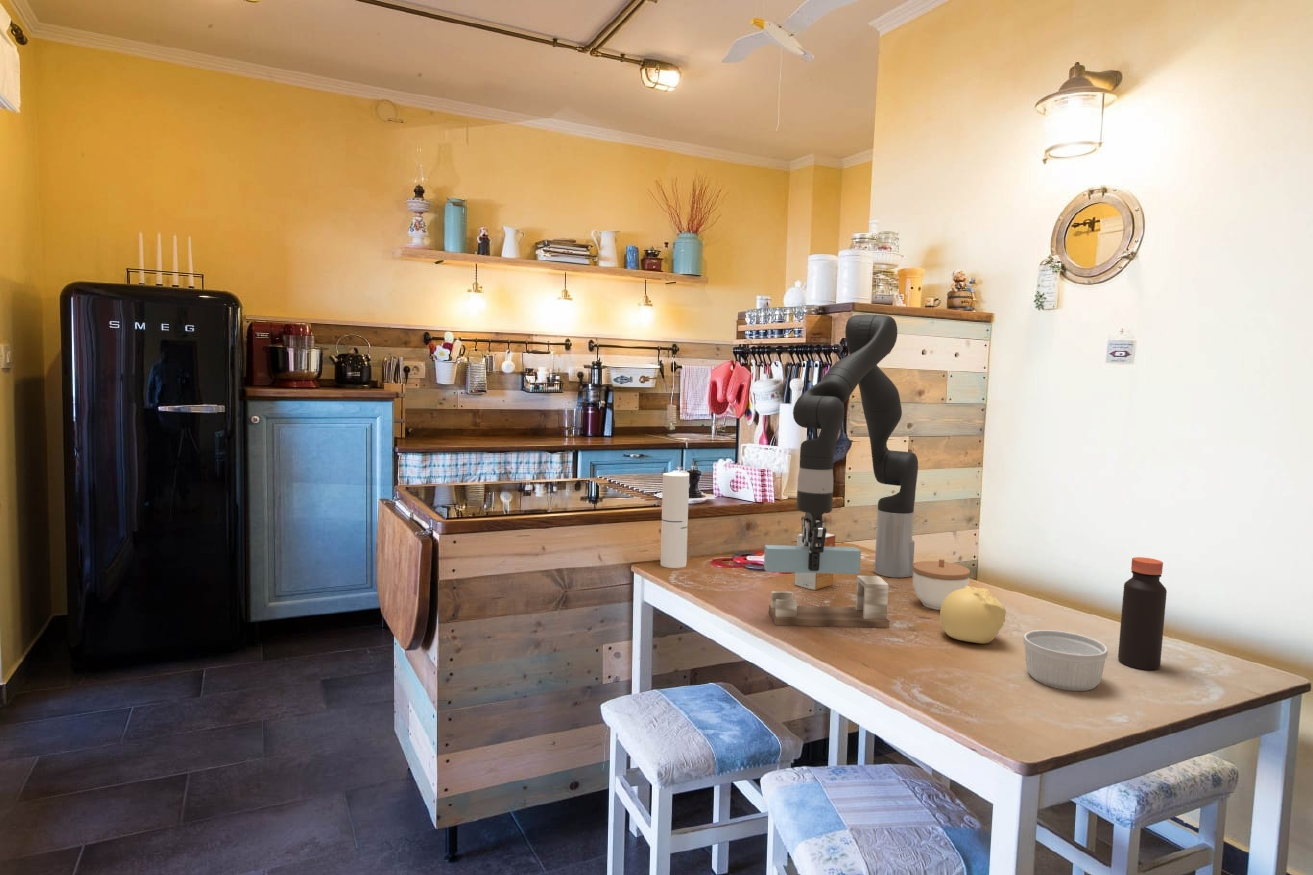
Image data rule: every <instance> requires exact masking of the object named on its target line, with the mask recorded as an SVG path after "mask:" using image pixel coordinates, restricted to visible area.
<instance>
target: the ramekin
mask: <svg viewBox="0 0 1313 875" xmlns="http://www.w3.org/2000/svg"><path fill="white" fill-rule="evenodd" d="M1022 641H1023V645H1024V652H1025V653H1024V654H1025V664H1026V665H1025V666H1026V670H1027V672H1028V674H1029V675H1030V676H1031V677H1032V678H1033V680H1035V681H1037V682H1039V683H1041V684H1043V685H1046V686H1049V687H1052V688H1056V689H1059V690H1060V689H1061V690H1064V691H1075V692H1086V691H1091V690H1093V689H1095V688H1096V687H1098V686H1099V685H1100V683H1101V681H1102V678H1103V672H1104V667H1105V662H1106V660H1107V658H1108V653H1109V652H1108V647H1107V646H1106V645H1105V644H1104V643H1103V642H1102V641H1099V640H1097V639H1095V638H1092V637H1089V636H1087V635H1083V634H1079V633H1074V632H1069V631H1062V630H1056V629H1036V630H1035V629H1034V630H1030V631H1028V632H1026V633H1024V635H1023V640H1022Z"/></svg>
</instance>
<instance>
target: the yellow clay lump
mask: <svg viewBox="0 0 1313 875" xmlns="http://www.w3.org/2000/svg"><path fill="white" fill-rule="evenodd" d="M1006 615H1007V611H1006V608H1005V605H1004V604H1003V603H1001V602H1000V600H999V599H998V598H997V597H996V596H994V594H992V593H991V592H990V591H989V589H987V588H983V587H975V586H970V585H969V586H967V585H966V586H965V588H963V589H958V590H955V591H953V592H951V593H950V594H949V595H948V596H947V597H946V598H945V599H944V601H943V603H942V605H941V609H940V610H939V617H940V618H939V619H940V624H941V626H942V628H943V631H944V632H945V634H946V635H947V636H949V637H951V638H952V639H955V640H958V641H962V642H963V641H964V642H969V643H976V644H989V643H990V642H992V641H993V640H994V639H995V638H997V635H998V634H999V632H1000V630H1001V629H1002V628H1003V626H1004V623H1005V621H1006V620H1005V618H1006Z"/></svg>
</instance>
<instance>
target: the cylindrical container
mask: <svg viewBox="0 0 1313 875" xmlns="http://www.w3.org/2000/svg"><path fill="white" fill-rule="evenodd" d="M661 496H662V497H661V501H662V502H661V530H660V531H661V532H660V534H661V535H660V538H661V539H660V566H661V567H664V568H669V569H681V568H685V567H686V566H687V560H688V557H687V556H688V528H689V527H688V524H689V523H688V522H689V500H690V499H689V496H690V474H689V473H686V472H684V473H683V472H665V473H663V474H662V495H661Z"/></svg>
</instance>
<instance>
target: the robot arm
mask: <svg viewBox="0 0 1313 875" xmlns="http://www.w3.org/2000/svg"><path fill="white" fill-rule="evenodd" d="M844 332H845V341H846V342H845V343H846V347H847V350H848V355H846V356H844V357H842V358H841V359H840V360H838V361H836V362H835V363H834V364H833V365H831V367H830V368H829V369H828V371H827V372H826V373H825V375H824V376H823V377H822V379H821V380H820V381H819V382H817V383H816V384H814V385H813V386H812V387H810V388H808V389H807V390H806V391H804V392H803V393H802V394H801V395H800V396H799V397H798V398H797V400H796V401H795V403H794V406H793V409H792V410H793V411H792V415H793V420H794V422H795V423H796V424H797V425H798V426H799V427H801V428H804V429H814V430H815V429H816V430H821V431H820V432H819V436H818V437H817V438H814V439H812V438H811V439H807V440H804V441H802V442H801V443H800V449H799V467H798V468H799V469H798V475H797V485H796V486H797V487H796V491H797V492H796V510H798V511H799V512H800V513H801V512H802V513H805V514H804V516H801V519H800V520H801V534H802V543H804V544H803V546H809V550H808V552H809V562H808V569H809V570H810V571H818V570H819V562H820V554H821V553H823V551H824V543H825V536H826V533H827V532H828V531H827V527H826V526H825V524H826V522H825V521H824V520H823V515H824V514H829V513H831V512H832V511H833V501H834V499H833V498H834V496H833V495H834V453H835V447H836V443H837V440H838V436H839V433H840V430H841V427H842V425H843V422H844V420H845V408H844V403H846V402H847V401H848V400H849V398H850V396H851V395H852V394H853V392H854V391H855V389H856V388H857V386H858V389H859V394H860V400H861V405H862V410H863V415H864V418H865V423H866V427H867V431H868V436H869V443H870V452H871V460H872V469H873V470H872V471H873V476H874V478H875V479H876V481H877V483H880V484H883V485H888V486H890V485H891V486H896V487H900V488H899V491H898V492H897V493H895V494H893V495H889V496H888V495H887V496H885V497H884V496H883V497H881V498H879V500H878V502H877V516H876V519H877V520H876V537H875V552H874V554H875V555H874V573H876V574H877V575H878V576H884V577H887V578H888V577H889V578H907V577H913V564H914V558H915V540H913V532H914V531H913V530H914V529H913V528H914V511H915V501H916V490H917V480H918V473H919V472H918V471H919V461H918V456H917V455H916V453H915V452H911V451H905V450H904V451H901V450H900V451H899V450H890V449H888V444H887V442H888V440H889V439H890V437H891V435H892V434H893V432H894V430H895V429H896V428H897V426H898V424H899V422H900V421H901V420H902V414H903V411H902V403H901V397H900V393H899V390H898V388H897V386H896V385H895V384H894V382H893V381H892V380H891V379H890V378H889V377H888V375H887V374H886V373H885V372H884V371H882V369H881V368H880V367H879V366H878V365H879V363H880V362H881V361H882V360H883V359H884V358H886V357H887V356H888V355H889V354H890V353H891V351H892V350H893V348H894V347H895V345H896V343H897V340H898V325H897V322H896V320H895V318H893V317H892V316H890V315H887V314H886V315H885V314H855V315H852V316H851V317H849V318H848V320H847V322H846V325H845V330H844ZM816 544H818V547H815V546H816Z"/></svg>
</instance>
